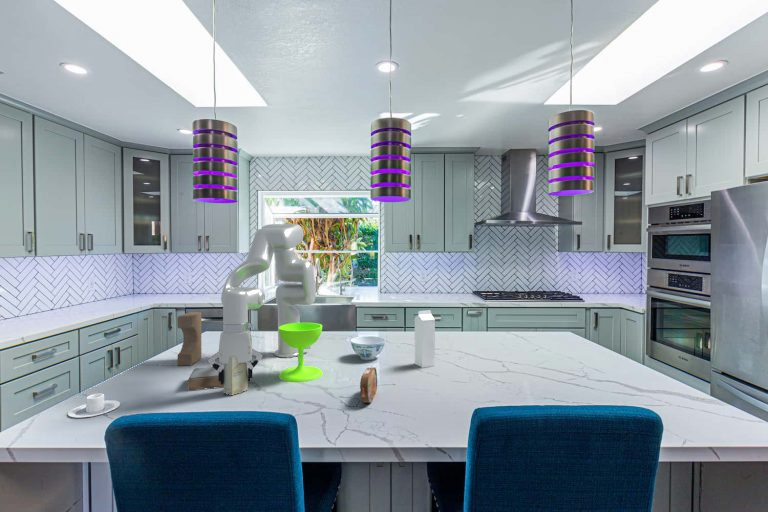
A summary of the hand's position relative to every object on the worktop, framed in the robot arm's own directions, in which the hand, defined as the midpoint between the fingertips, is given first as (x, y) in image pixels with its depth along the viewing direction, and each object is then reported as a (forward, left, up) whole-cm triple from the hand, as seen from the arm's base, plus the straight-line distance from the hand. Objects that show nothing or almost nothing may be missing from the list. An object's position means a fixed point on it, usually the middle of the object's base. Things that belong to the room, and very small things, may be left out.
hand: (235, 381), depth 123 cm
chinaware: (-52, -25, -4) cm, 58 cm away
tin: (-40, +18, -4) cm, 44 cm away
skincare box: (0, 0, -4) cm, 4 cm away
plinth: (+9, -12, -3) cm, 15 cm away
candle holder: (+38, +2, -4) cm, 38 cm away
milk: (-71, -8, -4) cm, 72 cm away
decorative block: (+20, -42, -4) cm, 47 cm away
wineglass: (-22, -11, -4) cm, 25 cm away
